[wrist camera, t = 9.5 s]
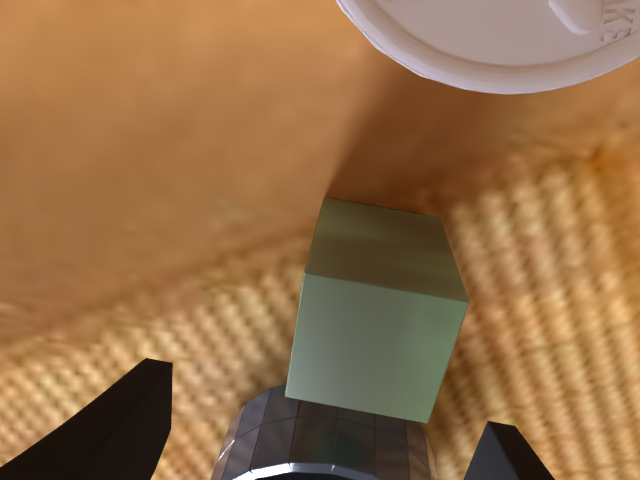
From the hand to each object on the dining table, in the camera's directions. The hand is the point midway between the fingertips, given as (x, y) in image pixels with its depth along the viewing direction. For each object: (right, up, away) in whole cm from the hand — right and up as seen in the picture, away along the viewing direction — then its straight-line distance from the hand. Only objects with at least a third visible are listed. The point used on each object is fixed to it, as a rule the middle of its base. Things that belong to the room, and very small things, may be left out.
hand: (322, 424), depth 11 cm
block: (+2, +3, +8) cm, 9 cm away
